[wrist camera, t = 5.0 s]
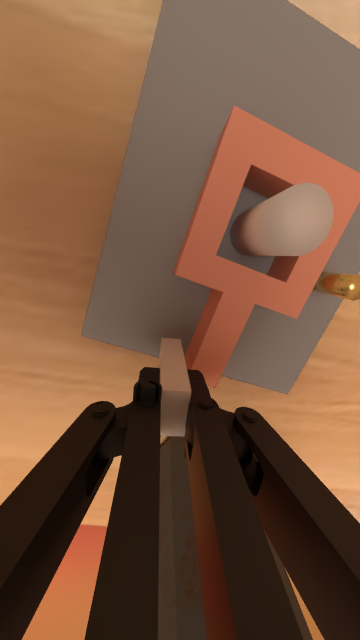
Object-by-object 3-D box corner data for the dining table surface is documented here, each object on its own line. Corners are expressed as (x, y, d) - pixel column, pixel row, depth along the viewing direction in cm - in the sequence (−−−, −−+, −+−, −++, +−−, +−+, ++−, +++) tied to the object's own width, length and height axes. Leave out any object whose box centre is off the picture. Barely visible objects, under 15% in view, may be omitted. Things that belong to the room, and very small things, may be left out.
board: (178, -34, 12) (200, -437, 5) (426, 124, 16) (646, 15, 9) (87, 329, 18) (39, 376, 11) (279, 385, 22) (336, 448, 15)
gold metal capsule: (310, 268, 17) (354, 271, 13) (326, 274, 17) (374, 280, 13) (301, 286, 17) (340, 295, 13) (317, 292, 17) (360, 303, 14)
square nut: (219, 136, 14) (234, 105, 11) (332, 193, 15) (371, 179, 12) (146, 349, 18) (142, 367, 15) (240, 377, 19) (254, 398, 17)
